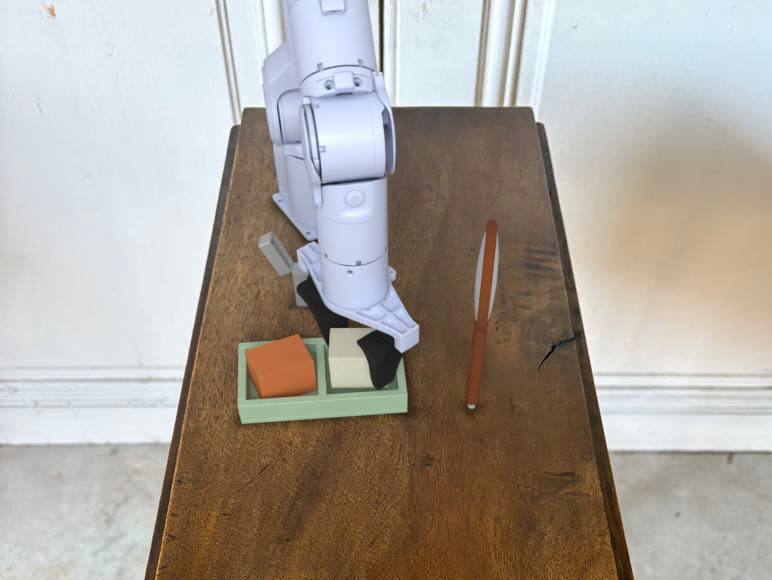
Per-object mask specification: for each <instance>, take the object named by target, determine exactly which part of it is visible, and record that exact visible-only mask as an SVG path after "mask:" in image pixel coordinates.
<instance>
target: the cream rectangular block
mask: <svg viewBox="0 0 772 580" xmlns="http://www.w3.org/2000/svg"><path fill="white" fill-rule="evenodd" d="M375 330H376V329H374V328H372V327H349V328H330V340H329V368H330V378H331V387H332V388H375V387H374V386H373V384H372V381H371V377H370V371H369V365H368V362H367V359H366V356H365V354H364V352H363V351H362V349H361V348H360V347H359V346H358V345H357V340H359V339H360V338H362V337H364V336H365V335H367V334H369V333H370V332H372V331H375ZM383 388H388V385H386V386H385V387H383Z"/></svg>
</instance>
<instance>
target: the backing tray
mask: <svg viewBox="0 0 772 580" xmlns="http://www.w3.org/2000/svg"><path fill="white" fill-rule="evenodd" d="M301 339H302V341H303V343H304V344H305V346H306V348H307V350H308V351H309V353H310V355H311V357H312V359H313V360H314V367H315V375H316V383H317V390H315V391H312V392H309V393H306V394H303V395H300V396H296V397H281V398H267V399H260V397H259V395H258V393H257V391H256V389H255V387H254V385H253V383H252V381H251V378H250V374H249V369H248V365H247V360H246V356H245V350H249V349H252V348H255V347H258V346H261V345H264V344H267V343H270V342H274V341H277V340H278V339H277V340H264V341H263V340H262V341H248V342H247V341H246V342H238V346H237V347H238V348H237V349H238V351H237V352H238V354H237V358H238V359H237V400H236V401H237V402H236V403H237V405H236V406H237V411H238V414H239V419H240V422H241V424H242V425H245V424H259V423H260V424H262V423H274V422H287V421H301V420H316V419H330V418H344V417H345V418H347V417H359V416H375V415H387V414H388V415H389V414H401V413H408V405H409V404H408V402H409V401H408V398H409V397H408V395H409V394H408V388H407V387H408V386H407V379H406V372H405V364H404V356H403V357H402V359H401V361H400V363H399V366H398V369H397V371H396V375H395V378H394V381H392V382H391V383H389V384H388V388H381V389H380V390H377V389H376V388H332V387H331V378H330V368H329V347H328V346H327V344H326V343H325V340H324V338H323V337H309V338H301Z"/></svg>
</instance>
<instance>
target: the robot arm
mask: <svg viewBox="0 0 772 580" xmlns="http://www.w3.org/2000/svg"><path fill="white" fill-rule="evenodd" d="M280 2H281V3H280V4H281V10H282V21H283V28H284V38H285V41H284V42H283V43H282V44H280V45H279V46H278V47H277V48H276V49H274V50H273V51H272V52H270V53H269V54H268V55H267V56H266V57H265V58H264V59H263V60H262V64H263V66H262V67H261V75H262V82H263V83H262V93H263V98H264V106H265V107H264V108H265V115H266V120H267V125H268V133H269V138H270V141H271V142H272V153H273V158H274V166H275V172H276V173H275V174H276V180H277V186H278V192H276V193H274V194H273V195H272V197H271V198H272V200H273V202H274V203H275V204H276V205H277V206H278V208H279V209H280V210H281V211H282V212H283V214H284V215H285V216H286V217H287V218H288V219H289V221H290V222H291V223H292V224H293V225H294V227H295V228H296V229H297V230H298V231H299V232H300V233H301V235H302V236H303V237H304V238H305V239H306V240H307V241H308V242H309V243H306V244H305V245H303V246H302V247H299V248H298V249H296V255H297V256H296V258H297V262H298V265H299V268H300V269H302V270H303V271H304V272H308V274H309V276H307V279H306V280H304V281H303V282H301V283H299V284H298V285H297V288H296V290H297V294H298V295H299V296H300V297H301V298H302V299H303V300H304V302H305V303H306V304H307V306H308V307H307V308H308V309H309V311H310V312H311V315H312V316H313V317H314V320H315V322H316V324H317V326H318V328H319V331H320V333H321V336H322V338H324V340H325V343H326V344H327V346H328V347H329V340H330V328H350V327H349V326H350V325H349V323H350V320H352V321H353V322H357V323H360V324H362V325H364V326H367V327H368V328H374V329H376V330H375V331H372V332H370V333H369V334H367V335H365V336H364V337H362V338H360V339H359V340H357V345H358V346H359V347H360V348H361V349H362V351H363V352H364V354H365V356H366V359H367V362H368V365H369V371H370V377H371V381H372V384H373V386H374V387H375V388H376V389H377V390H380V389H381V388H383V387H385V386H386V385H388V384H389V383H391V382H392V381H394V378H395V375H396V371H397V369H398V366H399V363H400V361H401V359H402V357H403V358H404V355H405V353H406V352H407V351H409V350H410V349H411V348H413V347H415V346H416V345H417V344H418V343H420V324H419V323H418V322H417V321H416V320H414V319H413V318H412V317H411V316H410V314H409V313H408V311H407V309H406V307H405V305H404V304H403V302H402V300H401V298H400V297H399V294H398V293H397V291H396V289H395V288H394V287H395V286H393V284H392V282H395V280H396V279H397V271H396V270H395V269H394V268H393V267H392V266H391V265H389V233H388V231H389V230H388V229H389V227H388V225H389V224H388V173H389V174H390V175H394V173H395V170H396V169H395V168H396V159H397V137H396V127H395V119H394V113H393V108H392V105H391V101H390V97H389V95H388V91H387V88H386V84H385V78H384V74H383V71H378V64H377V63H378V62H377V57H376V48H375V42H374V34H373V28H372V27H373V26H372V20H371V13H370V7H369V1H368V0H280ZM386 169H387V170H386ZM387 171H388V172H387ZM316 240H317V242H316Z"/></svg>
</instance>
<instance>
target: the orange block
mask: <svg viewBox="0 0 772 580" xmlns="http://www.w3.org/2000/svg"><path fill="white" fill-rule="evenodd" d="M302 339H303V338H302V337H301V336H300V334H299V333H296V334H293V335H290V336H286V337H283V338H280V339H277V341H276V340H273V341H274V342H270V343H267V344H264V345H261V346H258V347H255V348H252V349H249V350H245V356H246V360H247V365H248V369H249V374H250V378H251V381H252V383H253V385H254V387H255V389H256V391H257V393H258V395H259V397H260V399H267V398H281V397H296V396H300V395H303V394H306V393H309V392H312V391H315V390H317V383H316V375H315V367H314V360H313V359H312V357H311V355H310V353H309V351H308V350H307V348H306V346H305V344H304V343H303V341H302Z"/></svg>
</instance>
